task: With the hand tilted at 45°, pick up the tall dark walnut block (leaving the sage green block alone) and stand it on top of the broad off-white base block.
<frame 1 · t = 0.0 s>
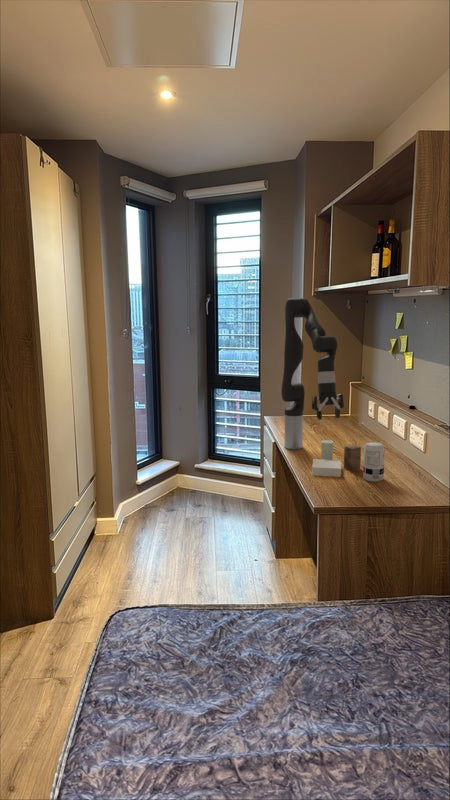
hand: (328, 418, 221), 22 cm above the table, tool pointing down, fingers open, 8 cm apart
walnut block: (352, 468, 223), on the table
base block: (326, 472, 219), on the table
sage green block: (326, 462, 232), on the table
supplement can: (373, 479, 209), on the table
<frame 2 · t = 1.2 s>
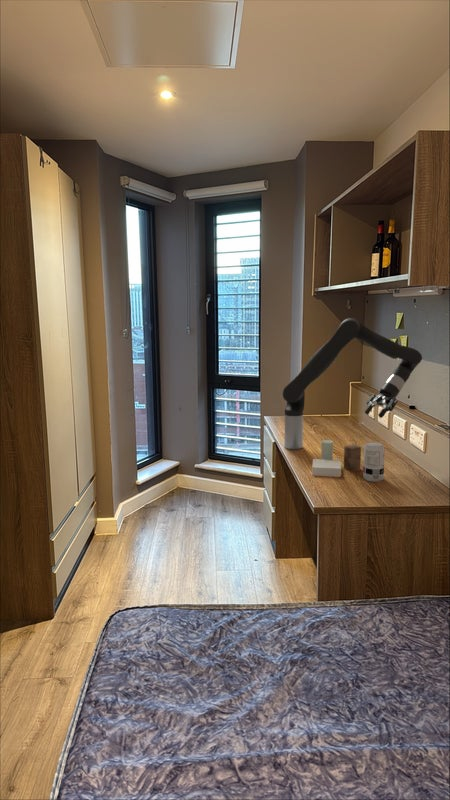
hand: (372, 414, 224), 23 cm above the table, tool tilted 45°, fingers open, 8 cm apart
nothing on the table moved.
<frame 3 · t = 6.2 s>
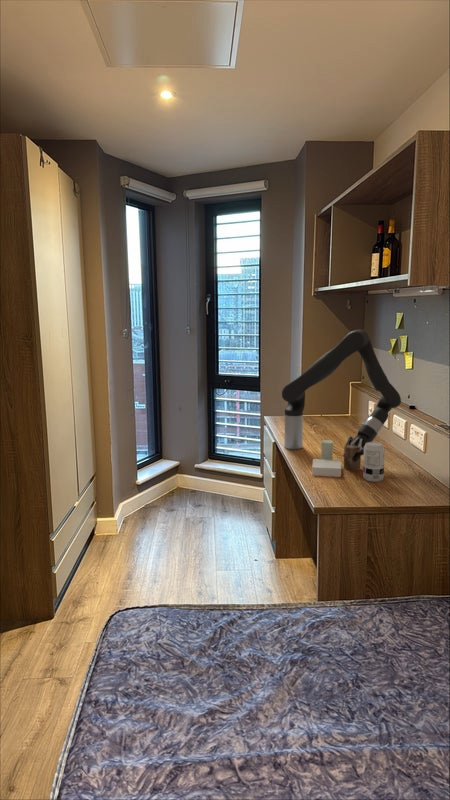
hand: (349, 458, 221), 5 cm above the table, tool tilted 45°, fingers closed on walnut block, 5 cm apart
walnut block: (352, 468, 223), on the table, touching gripper
everything else where it was.
when the fingers open (10 cm above the table, at t = 11.1 s): walnut block drops 2 cm, point 3 cm above the table.
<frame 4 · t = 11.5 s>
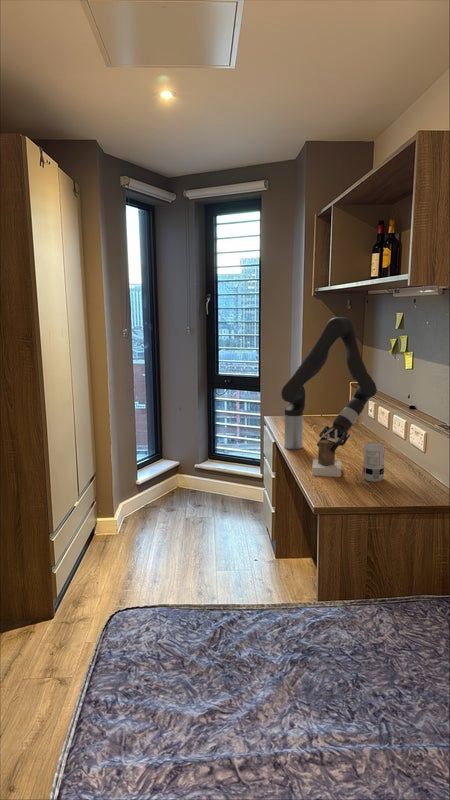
hand: (324, 448, 217), 10 cm above the table, tool tilted 45°, fingers open, 8 cm apart
walnut block: (326, 463, 219), point 3 cm above the table
everything else where it was.
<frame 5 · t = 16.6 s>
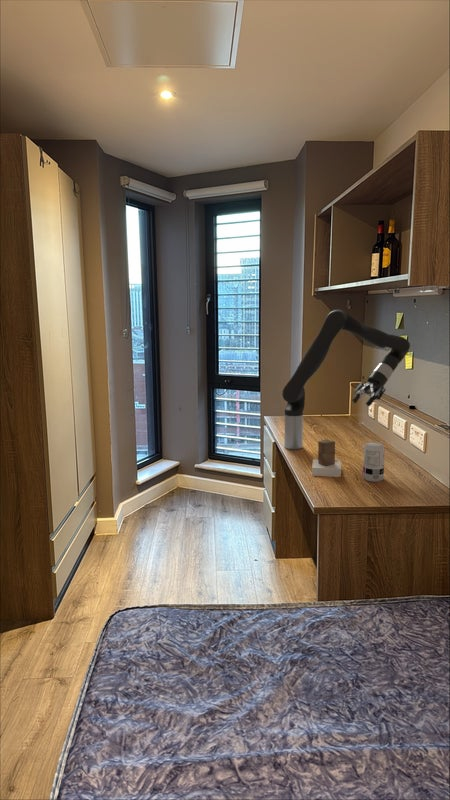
hand: (360, 403, 221), 29 cm above the table, tool tilted 45°, fingers open, 8 cm apart
walnut block: (326, 463, 219), point 3 cm above the table, touching base block
base block: (326, 472, 219), on the table, touching walnut block
everything else where it was.
at the end: walnut block 0.4 cm off-centre on the base block, point 4.2 cm above the base block's base; walnut block tilted 2°; the gripper is holding nothing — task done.
